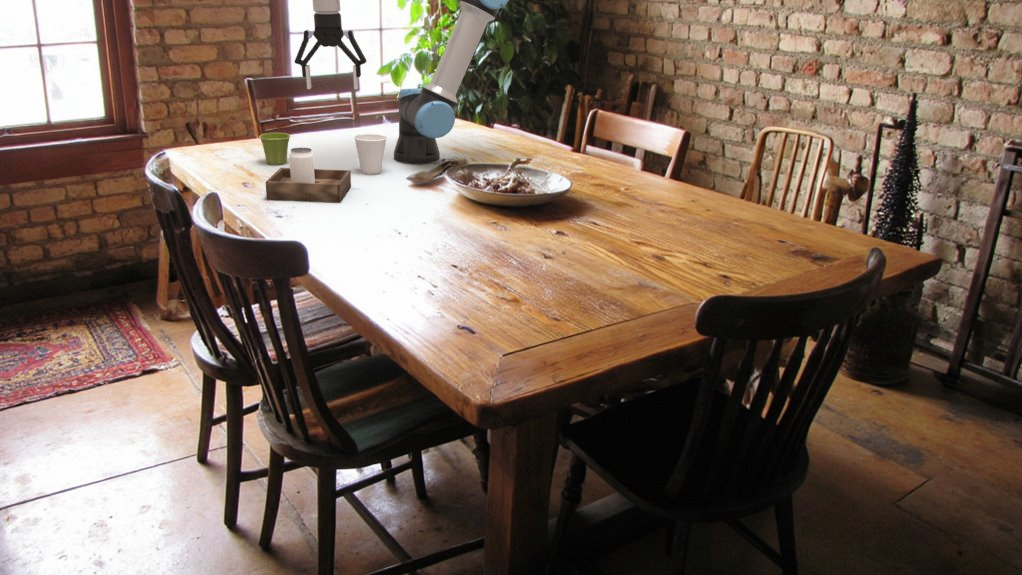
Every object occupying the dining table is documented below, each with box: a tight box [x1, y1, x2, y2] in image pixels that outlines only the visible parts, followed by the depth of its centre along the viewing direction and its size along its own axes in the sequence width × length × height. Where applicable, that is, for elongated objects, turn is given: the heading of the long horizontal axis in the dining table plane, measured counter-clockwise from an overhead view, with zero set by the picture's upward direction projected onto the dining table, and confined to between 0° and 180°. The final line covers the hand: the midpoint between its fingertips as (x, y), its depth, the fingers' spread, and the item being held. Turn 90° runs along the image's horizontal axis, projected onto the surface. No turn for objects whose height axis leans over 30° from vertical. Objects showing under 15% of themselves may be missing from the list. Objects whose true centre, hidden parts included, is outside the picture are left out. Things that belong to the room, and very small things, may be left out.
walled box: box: [265, 167, 352, 204], centre depth 236 cm, size 20×16×5 cm
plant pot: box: [258, 132, 291, 166], centre depth 265 cm, size 9×9×9 cm
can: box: [289, 147, 315, 183], centre depth 234 cm, size 6×6×12 cm
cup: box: [353, 133, 388, 176], centre depth 259 cm, size 10×10×11 cm
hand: (332, 88), depth 247 cm, fingers open, 13 cm apart
